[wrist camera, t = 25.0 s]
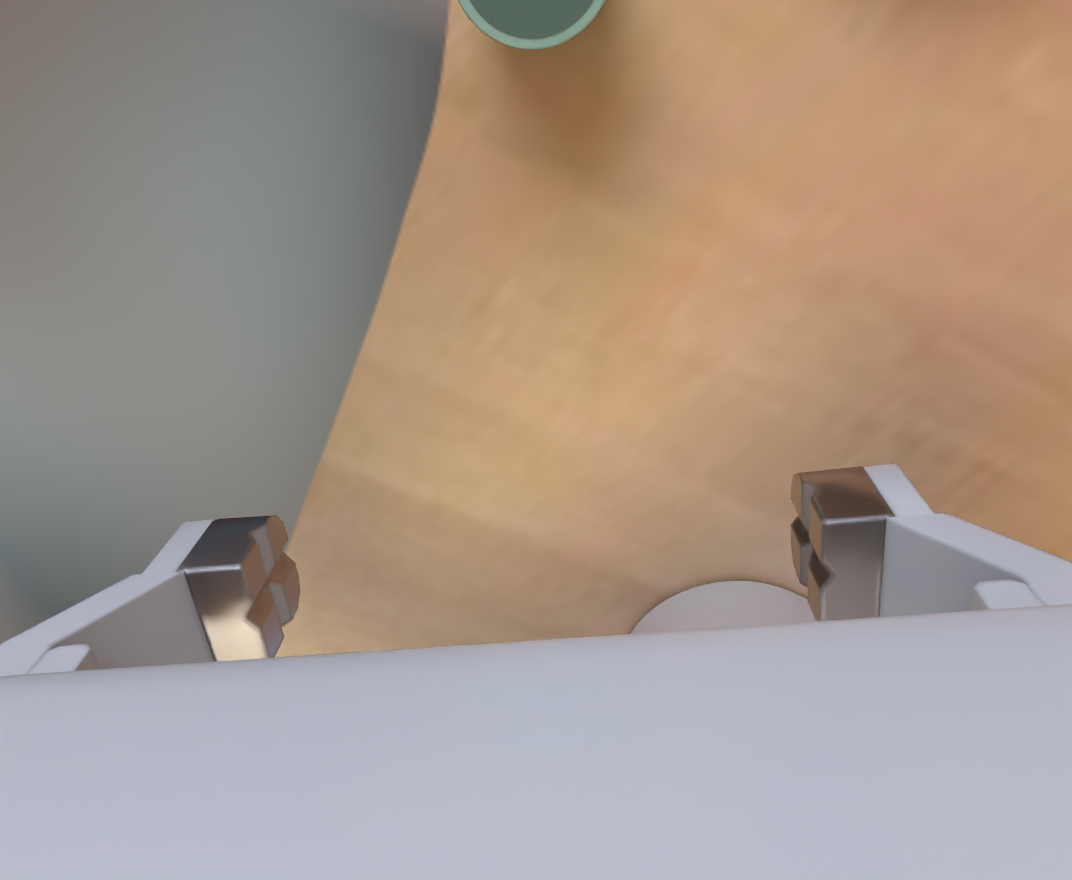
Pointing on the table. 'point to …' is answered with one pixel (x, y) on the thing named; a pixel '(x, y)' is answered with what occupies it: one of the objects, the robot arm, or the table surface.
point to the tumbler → (531, 20)
